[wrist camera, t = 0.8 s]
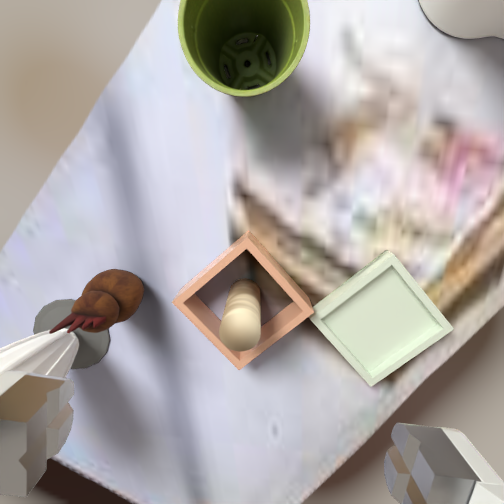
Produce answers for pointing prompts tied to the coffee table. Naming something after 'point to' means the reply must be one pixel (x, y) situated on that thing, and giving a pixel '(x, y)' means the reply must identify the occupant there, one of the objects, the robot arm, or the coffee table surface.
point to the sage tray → (380, 318)
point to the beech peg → (241, 316)
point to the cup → (54, 345)
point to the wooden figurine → (104, 302)
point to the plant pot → (234, 56)
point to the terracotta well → (211, 323)
